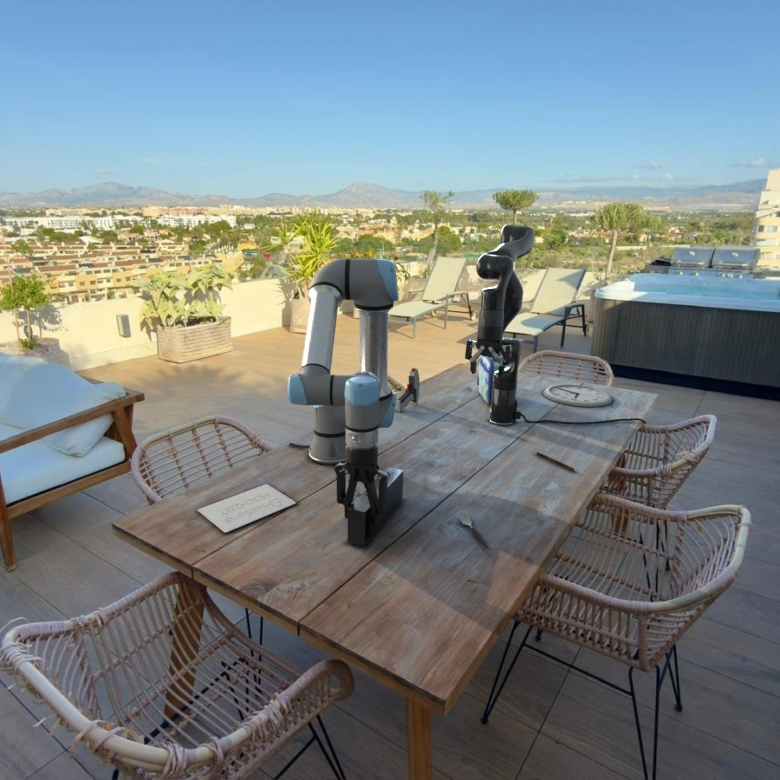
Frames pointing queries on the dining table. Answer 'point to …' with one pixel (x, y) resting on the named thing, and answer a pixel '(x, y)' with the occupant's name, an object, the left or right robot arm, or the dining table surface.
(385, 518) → the bar
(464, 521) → the fork
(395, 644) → the dining table surface
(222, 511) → the invitation card
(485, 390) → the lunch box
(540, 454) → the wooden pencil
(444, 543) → the dining table surface
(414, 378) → the toy gun
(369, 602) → the dining table surface
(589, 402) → the wall clock
